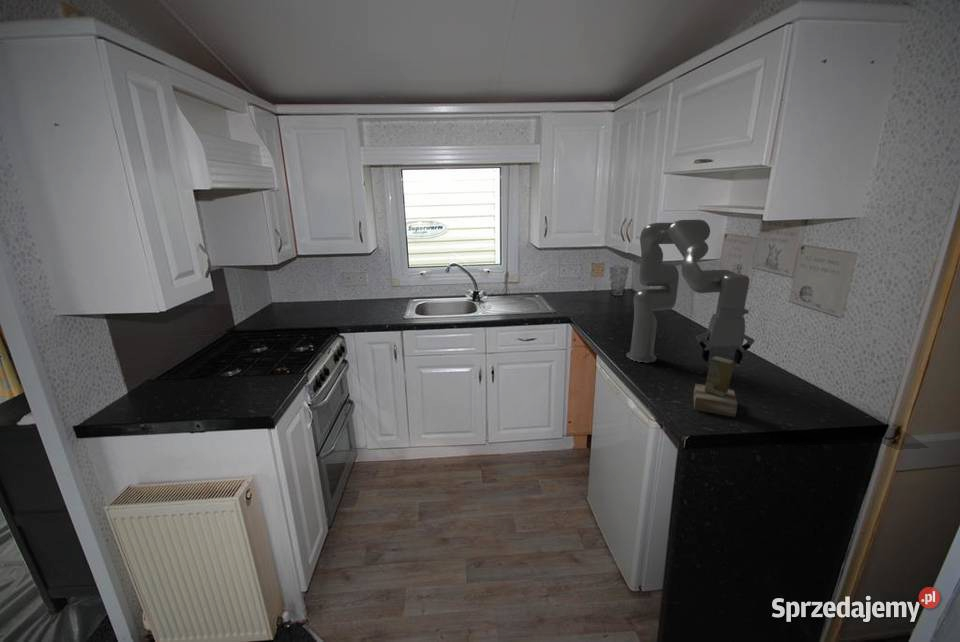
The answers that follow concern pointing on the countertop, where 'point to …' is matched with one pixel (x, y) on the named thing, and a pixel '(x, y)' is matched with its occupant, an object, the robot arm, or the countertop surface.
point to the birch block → (714, 401)
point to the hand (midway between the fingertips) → (720, 361)
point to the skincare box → (719, 376)
